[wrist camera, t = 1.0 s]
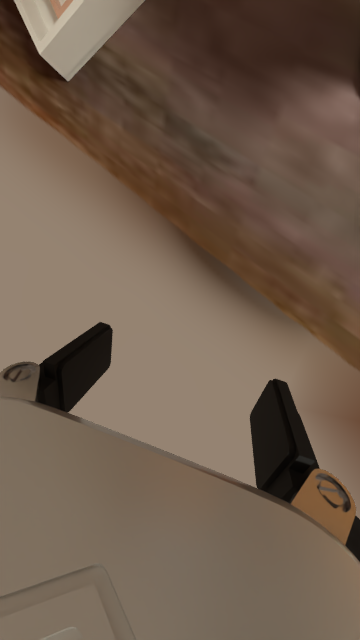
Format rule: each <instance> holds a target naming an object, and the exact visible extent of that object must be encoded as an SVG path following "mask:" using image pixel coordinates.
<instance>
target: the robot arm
mask: <svg viewBox="0 0 360 640" xmlns="http://www.w3.org/2000/svg"><path fill="white" fill-rule="evenodd" d="M112 331H113V330H112V328H111V327H110V325H108V324H105V323H102V322H100V323H98V324H97V325H95V326H94V327H92V328H91V329H89V330H88V331H86V332H85V333H83V334H82V335H80V336H79V337H78V338H76V339H74V340H73V341H72V342H70V343H69V344H67V345H66V346H64V347H63V348H61V349H60V350H58V351H57V352H56V353H54V354H53V355H51V356H50V357H48V358H47V359H45V360H44V361H43V362H42V363H41V364H39V365H38V364H36V363H34V362H20V363H16V364H13V365H10V366H8V367H7V368H5V369H4V370H3V371H2V372H1V373H0V640H360V519H359V518H358V517H357V516H356V505H355V502H354V500H353V498H352V496H351V494H350V492H349V491H348V490H347V488H346V487H345V486H344V485H343V484H342V482H341V481H340V480H339V479H338V478H336V477H335V476H334V475H333V474H331V473H329V472H328V471H326V470H323V469H320V468H319V465H318V463H317V460H316V457H315V455H314V452H313V449H312V447H311V444H310V441H309V439H308V436H307V433H306V431H305V428H304V425H303V423H302V420H301V417H300V415H299V414H298V412H297V409H296V406H295V404H294V401H293V399H292V396H291V393H290V390H289V387H288V385H287V383H286V382H284V381H281V380H278V379H273V381H272V380H270V381H269V382H268V384H267V385H266V387H265V389H264V391H263V392H262V394H261V396H260V398H259V399H258V401H257V403H256V405H255V406H254V408H253V410H252V412H251V415H250V423H251V434H252V444H253V456H254V465H255V476H256V485H257V488H258V489H257V488H255V487H252V486H250V485H248V484H245V483H243V482H241V481H238V480H236V479H234V478H231V477H229V476H226V475H224V474H221V473H219V472H216V471H214V470H211V469H209V468H206V467H204V466H201V465H199V464H196V463H194V462H192V461H189V460H186V459H184V458H181V457H179V456H176V455H174V454H172V453H169V452H167V451H164V450H161V449H159V448H156V447H154V446H151V445H149V444H146V443H144V442H141V441H138V440H136V439H133V438H131V437H128V436H126V435H123V434H121V433H119V432H116V431H113V430H111V429H108V428H106V427H103V426H101V425H98V424H95V423H93V422H90V421H88V420H85V419H83V418H80V417H77V416H75V415H72V414H69V413H68V412H69V411H70V410H71V409H72V408H73V407H74V406H75V405H76V404H77V402H78V401H79V400H80V399H81V398H82V397H83V396H84V395H85V394H86V392H87V391H88V390H89V389H90V388H91V387H92V386H93V385H94V384H95V383H96V381H97V380H98V379H99V378H100V377H101V376H102V375H103V374H104V373H105V372H106V370H107V369H108V368H109V366H110V363H111V347H112Z"/></svg>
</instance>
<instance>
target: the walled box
mask: <svg viewBox="0 0 360 640" xmlns="http://www.w3.org/2000/svg"><path fill="white" fill-rule="evenodd" d="M144 1H145V0H14V2H15V4H16V6H17V8H18V10H19V12H20V14H21V16H22V18H23V21H24V23H25V25H26V27H27V29H28V31H29V33H30V35H31V37H32V40H33V42H34V44H35V46H36V48H37V50H38V52H39V54H40V55H41V56H42V57H43V58H44V59H45V60H46V61H47V62H48V63H49V64H50V65H51V66H52V67H53V68H54V69H55V70H56V71H57V72H58V73H59V74H60V75H62V76H63V77H64V78H65V79H66V80H67V81H69V80H70V79H71V78H72V77H73V76H74V75H75V74H76V73H77V72H78V71H79V70H80V69H81V68H82V67H83V65H84V64H85V63H86V62H87V61H88V60H89V59H90V58H91V57H92V56H93V55H94V54H95V53H96V52H97V51H98V50H99V49H100V48H101V47H102V45H103V44H104V43H105V42H106V41H107V40H108V39H109V38H110V37H111V36H112V35H113V34H114V33H115V32H116V31H117V30H118V29H119V28H120V26H121V25H122V24H123V23H124V22H125V21H126V20H127V19H128V18H129V17H130V16H131V15H132V14H133V13H134V12H135V11H136V10H137V9H138V8H139V6H140V5H141V4H142V3H143V2H144Z"/></svg>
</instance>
